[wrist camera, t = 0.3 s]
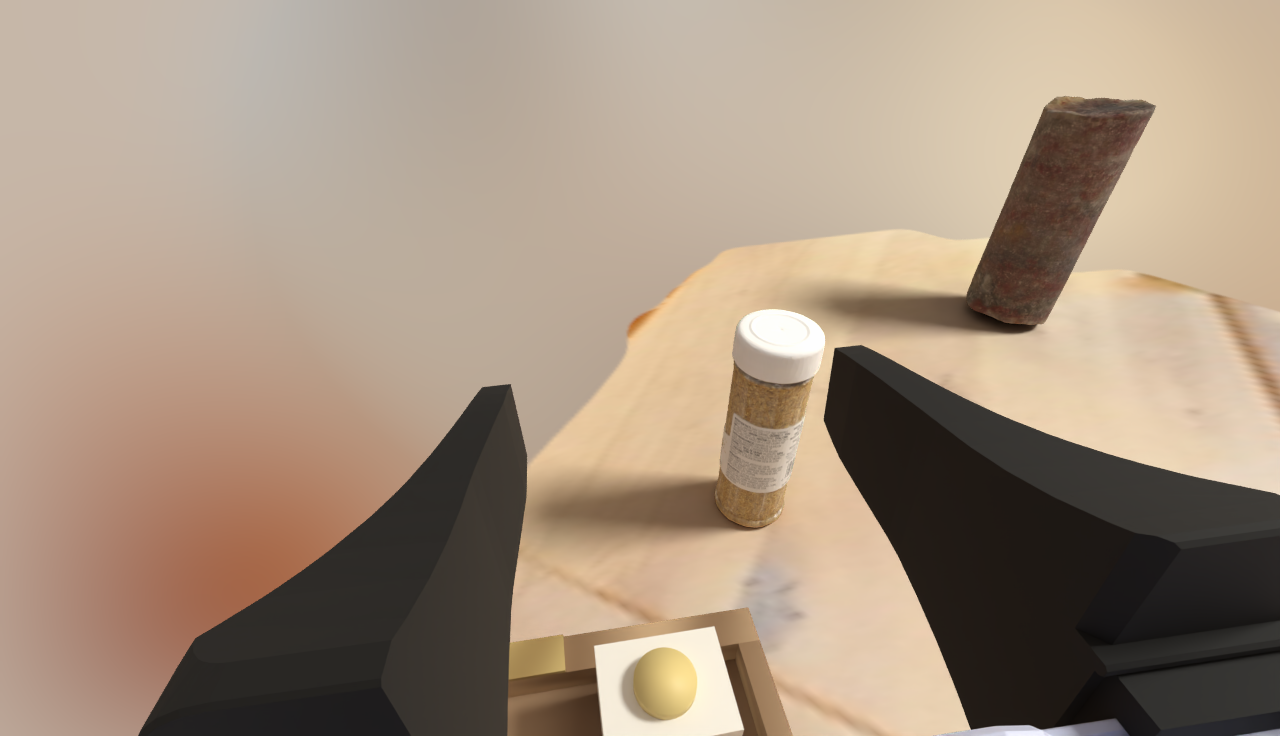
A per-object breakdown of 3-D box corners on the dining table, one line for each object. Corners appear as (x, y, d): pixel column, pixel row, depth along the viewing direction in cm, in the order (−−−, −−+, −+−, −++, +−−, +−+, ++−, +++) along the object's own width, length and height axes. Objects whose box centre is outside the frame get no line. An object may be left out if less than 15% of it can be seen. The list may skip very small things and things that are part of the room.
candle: (1032, 344, 52) (1151, 113, 40) (950, 316, 56) (1036, 98, 44) (1051, 314, 57) (1162, 98, 45) (974, 290, 61) (1058, 86, 49)
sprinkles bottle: (734, 466, 39) (760, 297, 31) (795, 496, 37) (840, 323, 29) (700, 508, 36) (720, 333, 28) (764, 544, 34) (805, 364, 26)
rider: (706, 673, 26) (715, 619, 23) (731, 771, 22) (745, 723, 20) (597, 691, 25) (593, 639, 22) (608, 796, 22) (605, 750, 19)
